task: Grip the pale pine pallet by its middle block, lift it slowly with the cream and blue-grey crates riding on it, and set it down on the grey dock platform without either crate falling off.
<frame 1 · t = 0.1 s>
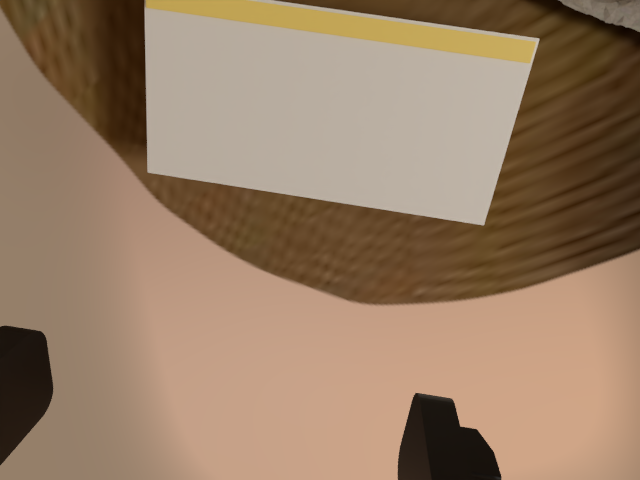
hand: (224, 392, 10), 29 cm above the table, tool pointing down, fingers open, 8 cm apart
dock: (331, 101, 35), on the table
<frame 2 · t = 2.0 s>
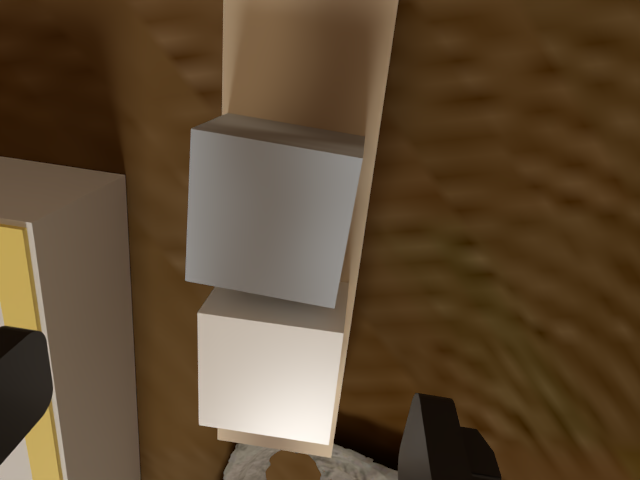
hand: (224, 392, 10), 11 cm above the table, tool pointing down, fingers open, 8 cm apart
pallet: (305, 219, 20), on the table, touching blue-grey crate, cream crate
blue-grey crate: (287, 191, 15), point 4 cm above the table, touching pallet
cream crate: (284, 326, 17), point 4 cm above the table, touching pallet
dock: (30, 371, 25), on the table
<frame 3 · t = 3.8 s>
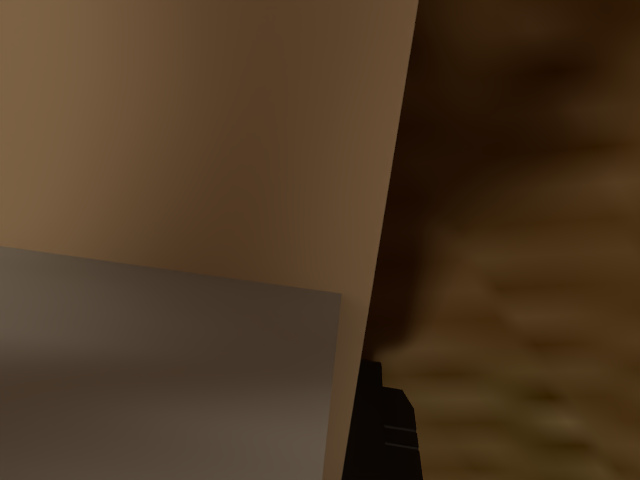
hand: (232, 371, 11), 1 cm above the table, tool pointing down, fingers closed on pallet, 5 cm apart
pallet: (243, 346, 11), on the table, touching blue-grey crate, cream crate, gripper
blue-grey crate: (163, 409, 6), point 4 cm above the table, touching pallet
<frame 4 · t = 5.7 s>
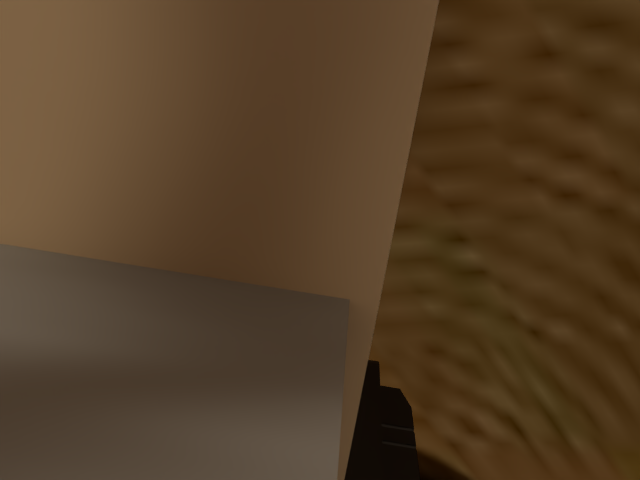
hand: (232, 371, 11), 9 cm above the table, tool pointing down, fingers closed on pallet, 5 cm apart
pallet: (243, 347, 11), point 8 cm above the table, touching blue-grey crate, cream crate, gripper
blue-grey crate: (165, 412, 6), point 13 cm above the table, touching cream crate, pallet
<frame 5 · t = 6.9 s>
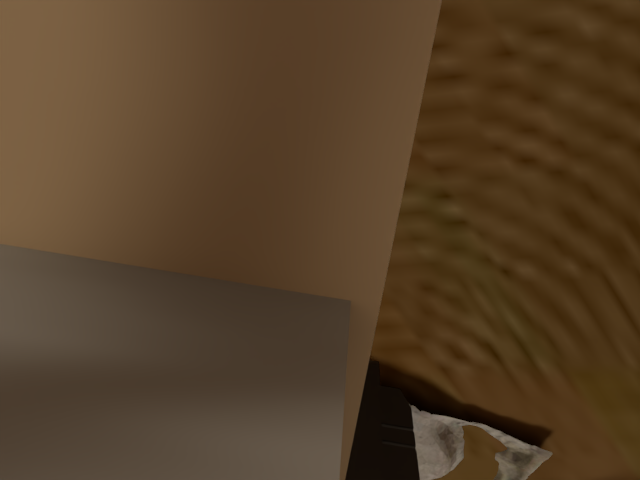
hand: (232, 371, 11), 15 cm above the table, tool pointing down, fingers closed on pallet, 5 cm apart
pallet: (243, 348, 11), point 15 cm above the table, touching blue-grey crate, cream crate, gripper
blue-grey crate: (165, 413, 6), point 19 cm above the table, touching cream crate, pallet
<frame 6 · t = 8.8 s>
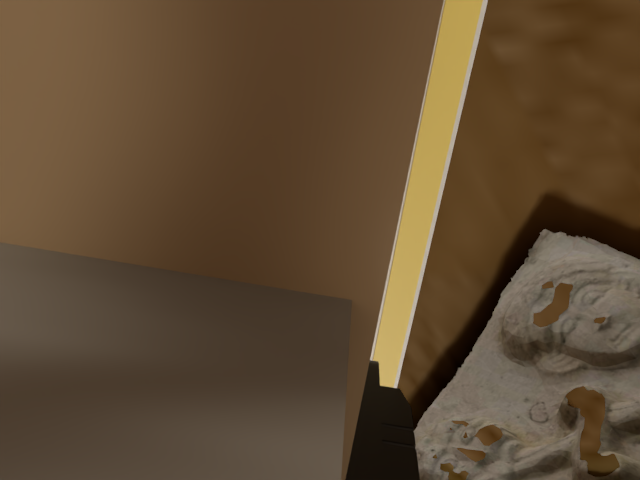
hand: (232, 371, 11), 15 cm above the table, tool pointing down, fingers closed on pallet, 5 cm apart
stone relief: (534, 464, 32), on the table
pallet: (243, 347, 11), point 15 cm above the table, touching blue-grey crate, cream crate, gripper
blue-grey crate: (165, 412, 6), point 19 cm above the table, touching cream crate, pallet
dock: (304, 189, 25), on the table
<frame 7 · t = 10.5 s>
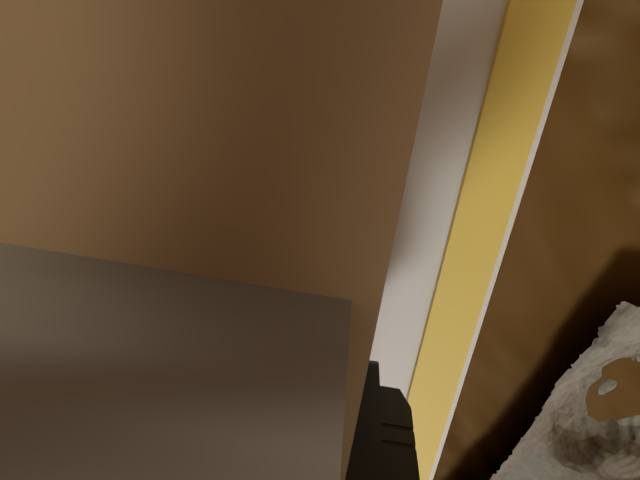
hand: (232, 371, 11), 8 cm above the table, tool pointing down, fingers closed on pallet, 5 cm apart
pallet: (243, 347, 11), point 7 cm above the table, touching blue-grey crate, cream crate, gripper
blue-grey crate: (165, 412, 6), point 12 cm above the table, touching cream crate, pallet
dock: (285, 236, 18), on the table
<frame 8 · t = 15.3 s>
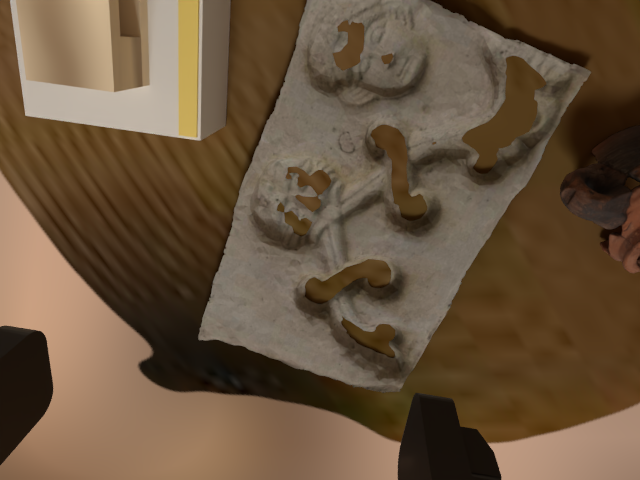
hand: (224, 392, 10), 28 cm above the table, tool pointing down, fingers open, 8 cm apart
pottery mug: (616, 186, 35), on the table
stone relief: (363, 214, 38), on the table
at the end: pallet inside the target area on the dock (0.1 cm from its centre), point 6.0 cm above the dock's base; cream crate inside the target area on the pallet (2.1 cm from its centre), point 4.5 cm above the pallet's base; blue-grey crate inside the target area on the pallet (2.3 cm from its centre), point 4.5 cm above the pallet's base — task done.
